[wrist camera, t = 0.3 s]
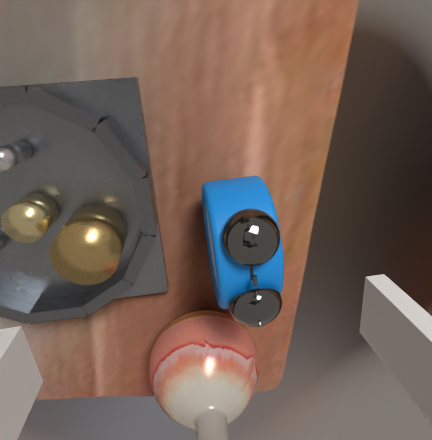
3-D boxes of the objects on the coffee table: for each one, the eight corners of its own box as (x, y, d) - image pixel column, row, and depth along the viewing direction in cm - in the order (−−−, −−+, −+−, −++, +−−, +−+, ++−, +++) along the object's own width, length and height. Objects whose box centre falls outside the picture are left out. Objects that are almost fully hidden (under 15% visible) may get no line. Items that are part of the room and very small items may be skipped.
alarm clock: (197, 169, 38) (212, 216, 24) (250, 162, 38) (294, 204, 24) (209, 267, 43) (227, 353, 29) (256, 260, 43) (295, 341, 30)
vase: (154, 373, 48) (145, 517, 32) (148, 294, 43) (134, 419, 27) (245, 365, 50) (280, 498, 34) (250, 288, 45) (294, 403, 29)
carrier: (-128, 97, 31) (-212, 99, 24) (137, 77, 34) (128, 75, 27) (-34, 310, 41) (-75, 356, 34) (168, 285, 43) (167, 323, 36)
